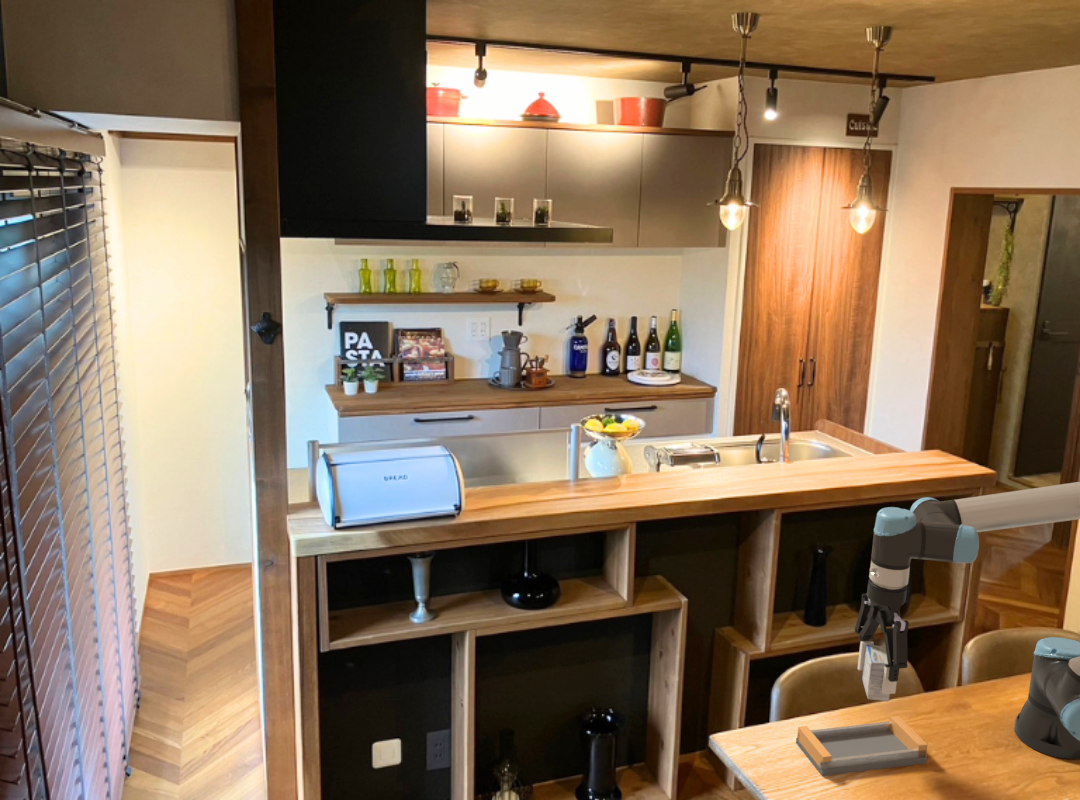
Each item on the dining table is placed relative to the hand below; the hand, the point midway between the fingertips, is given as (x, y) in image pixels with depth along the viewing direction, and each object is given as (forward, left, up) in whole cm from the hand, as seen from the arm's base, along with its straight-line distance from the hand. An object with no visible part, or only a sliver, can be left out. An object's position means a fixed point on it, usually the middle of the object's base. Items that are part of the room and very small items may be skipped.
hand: (875, 680), depth 189 cm
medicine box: (0, 0, -3) cm, 3 cm away
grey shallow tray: (+2, 0, -17) cm, 17 cm away
